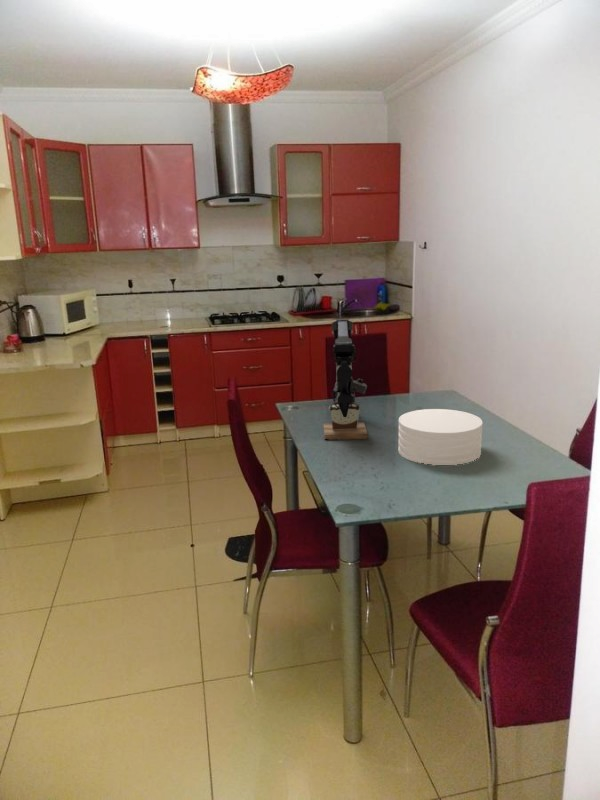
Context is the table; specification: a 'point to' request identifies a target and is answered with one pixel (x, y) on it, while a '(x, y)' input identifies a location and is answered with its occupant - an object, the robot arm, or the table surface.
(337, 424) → the food container
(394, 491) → the table surface
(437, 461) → the plate stack
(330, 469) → the table surface
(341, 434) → the walnut block
